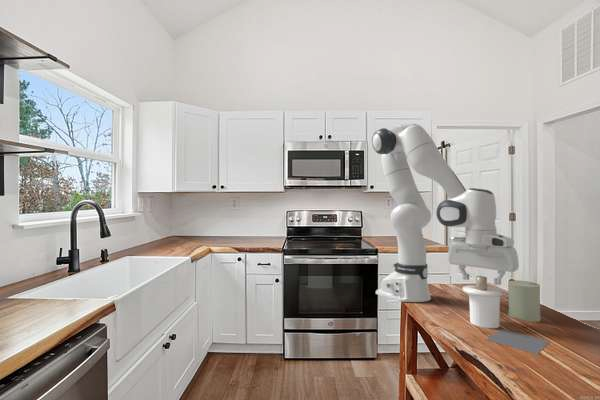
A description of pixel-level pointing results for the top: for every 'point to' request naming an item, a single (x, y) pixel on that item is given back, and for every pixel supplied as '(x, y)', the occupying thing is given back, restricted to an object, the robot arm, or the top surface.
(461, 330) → the top surface
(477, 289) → the lid
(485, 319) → the mug
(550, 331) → the top surface
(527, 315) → the can
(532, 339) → the mat
